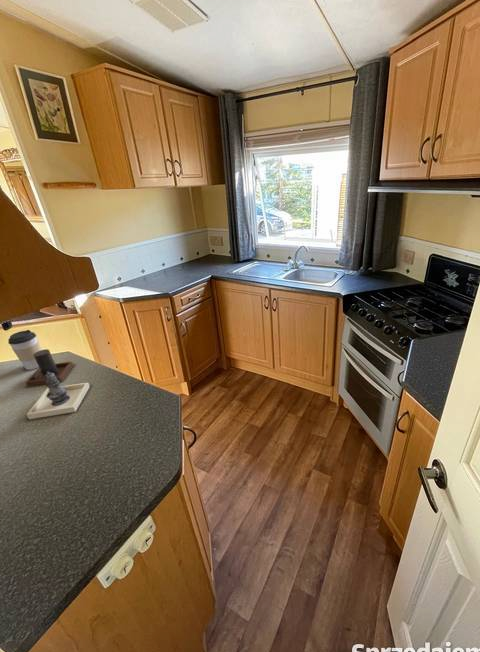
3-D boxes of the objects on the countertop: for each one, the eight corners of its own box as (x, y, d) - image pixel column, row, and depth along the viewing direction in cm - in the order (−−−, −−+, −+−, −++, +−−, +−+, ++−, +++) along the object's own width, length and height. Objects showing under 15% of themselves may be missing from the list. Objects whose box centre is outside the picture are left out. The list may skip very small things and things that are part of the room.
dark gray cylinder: (41, 379, 111) (30, 357, 107) (47, 372, 116) (37, 350, 111) (55, 377, 112) (45, 355, 108) (61, 370, 116) (51, 348, 112)
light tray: (29, 419, 92) (26, 414, 91) (49, 392, 104) (46, 388, 103) (75, 411, 94) (73, 406, 93) (89, 386, 106) (88, 382, 105)
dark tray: (27, 386, 108) (25, 382, 107) (42, 369, 118) (40, 365, 117) (61, 381, 110) (59, 377, 109) (73, 365, 120) (72, 361, 119)
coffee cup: (27, 373, 116) (11, 340, 110) (18, 367, 121) (1, 335, 114) (52, 362, 123) (37, 331, 117) (42, 357, 128) (27, 326, 121)
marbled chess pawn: (74, 397, 100) (62, 368, 95) (57, 408, 95) (43, 378, 90) (64, 393, 102) (51, 364, 97) (46, 403, 98) (32, 374, 92)
